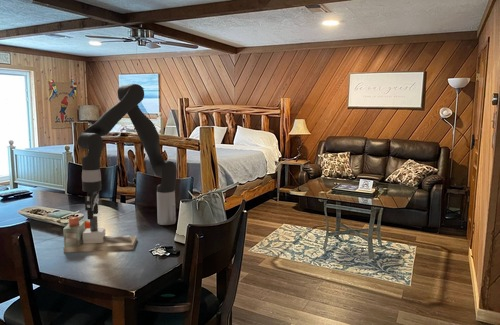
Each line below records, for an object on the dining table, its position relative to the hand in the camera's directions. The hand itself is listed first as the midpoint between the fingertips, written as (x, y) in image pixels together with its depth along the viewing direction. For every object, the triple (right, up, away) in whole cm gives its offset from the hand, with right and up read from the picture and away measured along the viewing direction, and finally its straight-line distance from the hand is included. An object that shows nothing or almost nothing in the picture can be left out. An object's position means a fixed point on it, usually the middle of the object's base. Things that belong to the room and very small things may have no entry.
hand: (93, 216), depth 165 cm
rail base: (+3, -13, +2) cm, 14 cm away
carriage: (0, -11, +2) cm, 11 cm away
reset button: (-8, -4, -1) cm, 9 cm away
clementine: (-10, -11, +16) cm, 23 cm away
